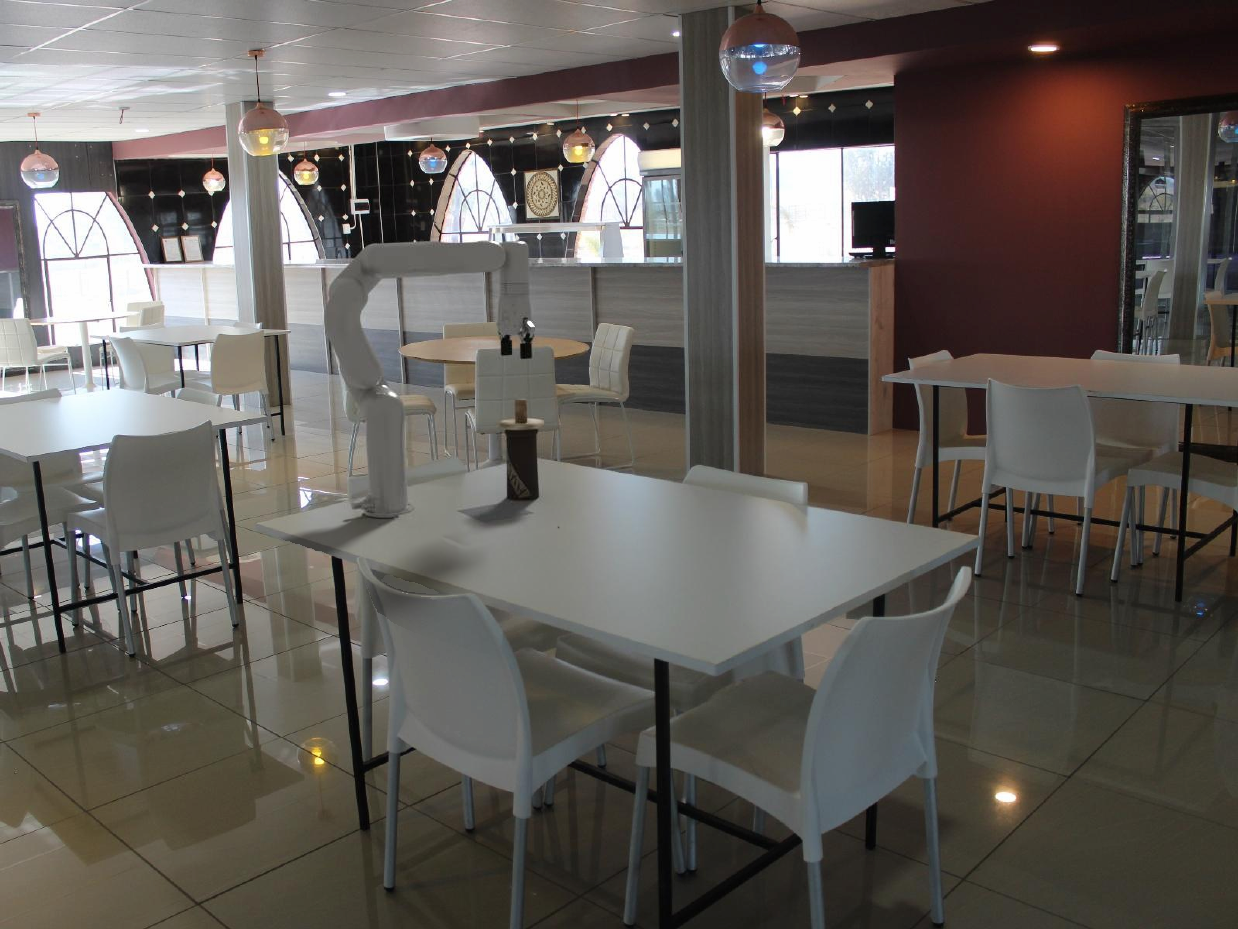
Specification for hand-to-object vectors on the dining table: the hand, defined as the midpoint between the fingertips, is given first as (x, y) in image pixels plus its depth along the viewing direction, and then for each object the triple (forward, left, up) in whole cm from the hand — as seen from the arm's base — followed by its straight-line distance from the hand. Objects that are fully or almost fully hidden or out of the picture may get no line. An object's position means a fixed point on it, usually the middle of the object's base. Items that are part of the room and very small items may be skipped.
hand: (516, 356), depth 287 cm
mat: (-14, -10, -38) cm, 42 cm away
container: (0, -1, -38) cm, 38 cm away
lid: (0, -1, -18) cm, 18 cm away
